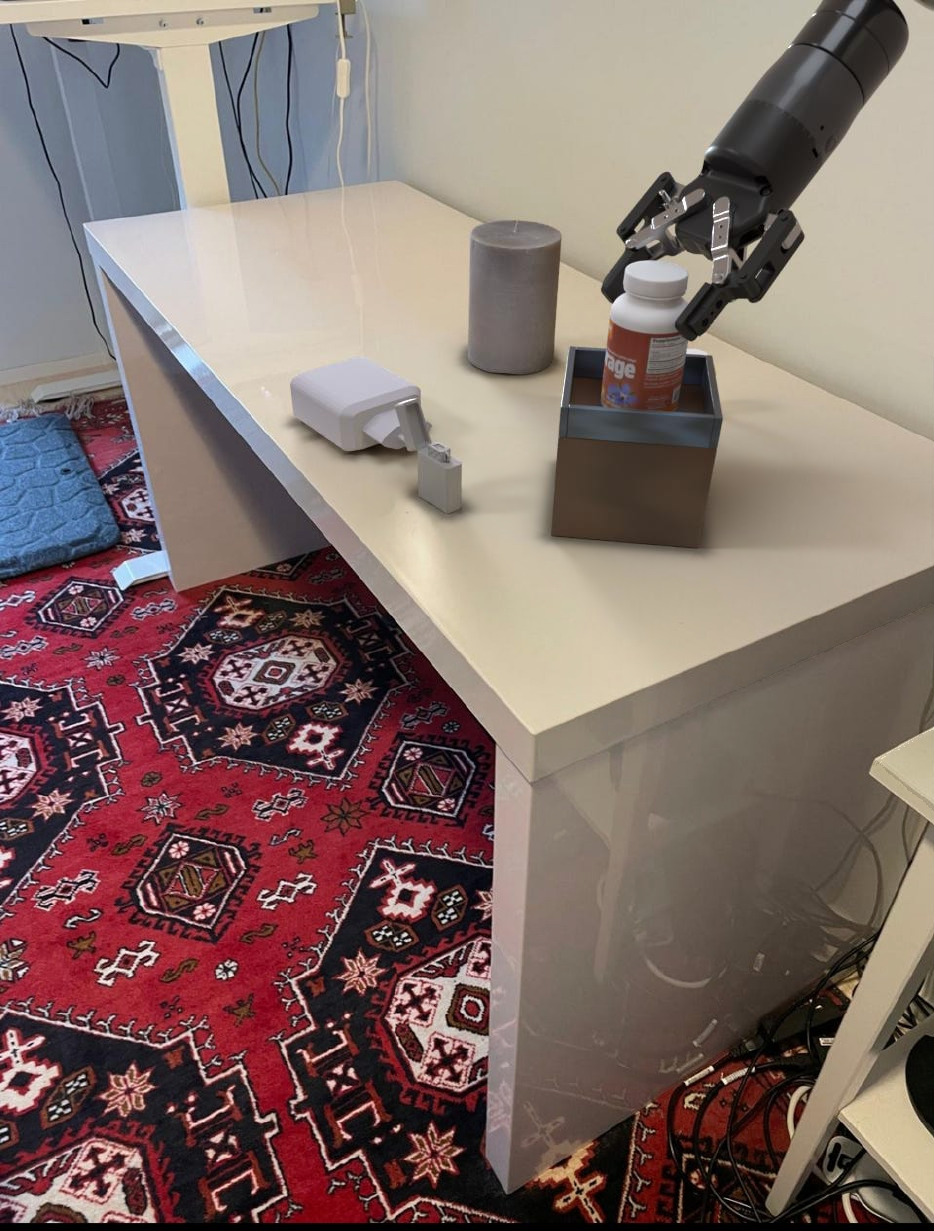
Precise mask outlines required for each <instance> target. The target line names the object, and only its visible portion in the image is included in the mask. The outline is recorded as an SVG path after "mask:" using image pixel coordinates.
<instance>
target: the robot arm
mask: <svg viewBox="0 0 934 1231" xmlns="http://www.w3.org/2000/svg"><path fill="white" fill-rule="evenodd" d="M913 2H915V3H916V4H918V5H920V6H922V7H923V8H924V9H927V10H928V11H932V12H934V0H913ZM909 38H910V28H909V25H908V22H907V19H906V16H905V15H904V13H903V12H902V10H901V8H900V7H899V5H897V3H896V2H895V0H822V1H821V2H820V3H819V5H818V7H817V8H816V9H815V11H814V12H813V14H811V16H810V17H809V19H808V20H807V21H806V23H805V24H804V26H802V28H801V29H800V31H799V32H798V34H797V35H796V36H795V37H794V39H793V40H792V41H791V43H790V44H789V45H788V47H787V48H786V50H785V51H784V52H783V53H782V54H781V56H779V57H778V58H777V60H776V61H775V62H774V63H773V64H772V65H771V66H770V67H769V68H768V69H767V70H766V71H765V72H764V73H763V74H762V76H761V77H760V79H759V80H758V81H757V82H756V84H754V86H753V88H752V89H751V90H750V91H749V93H748V94H747V96H746V97H745V98H744V99H743V101H742V102H741V103H740V105H739V106H738V108H737V109H736V110H735V112H734V113H733V114H732V115H731V117H730V118H729V119H728V120H727V122H726V123H725V125H724V127H723V128H721V130H720V131H719V133H718V134H717V135H716V137H715V138H714V139H713V141H712V142H711V144H710V145H709V146H708V147H707V149H706V150H705V153H704V155H703V163H702V168H701V170H700V172H699V174H698V176H696V177H695V178H694V179H693V180H691V181H690V182H689V183H687V184H686V185H685V184H683V183H680V182H677V181H676V180H675V178H674V177H673V175H672V173H671V172H670V171H664V172H661V174H659V176H658V177H657V178H656V179H655V180H654V182H653V183H652V184H651V185H650V186H649V188H647V190H646V191H645V193H643V195H642V196H641V198H640V199H639V200H638V201H637V202H636V203H635V205H634V206H633V207H632V209H631V210H630V211H629V212H628V214H627V215H626V216H625V218H624V219H623V220H622V221H621V222H620V224H619V225H618V226H617V228H616V235H617V236H618V237H619V239H620V241H622V243H623V244H624V246H625V248H624V251H623V253H622V254H621V255H620V257H619V258H618V260H617V261H616V262H615V264H614V265H612V267H611V269H610V270H609V272H608V273H607V274H606V275H605V277H604V279H603V280H602V283H601V287H600V292H601V294H602V295H603V296H604V298H605V299H606V300H607V301H608V302H609V303H610V304H611V305H613V303H614V301H615V300H616V299H617V298H618V297H619V296H620V295H622V294H624V293H626V291H625V290H624V285H623V281H624V274H625V269H626V267H627V266H628V265H629V264H631V263H634V262H639V261H660V260H661V259H663V258H664V257H667V256H669V257H676V256H678V255H680V254H681V253H684V252H687V253H690V254H692V255H700V256H701V255H702V256H703V257H705V258H706V259H707V260H708V261H710V262H712V268H711V282H707V281H705V282H704V283H703V284H702V286H701V287H700V288H699V289H698V291H697V292H696V293H695V294H694V296H693V297H692V298H691V300H690V301H689V302H688V305H687V306H686V308H685V309H684V310H683V312H682V313H681V314H680V316H679V317H678V318H677V320H676V322H675V328H676V329H677V331H678V332H679V333H680V335H681V336H682V337H683V338H684V339H686V340H688V342H691V343H692V342H695V340H696V339H697V338H698V337H702V336H703V335H704V334H705V333H707V331H708V330H709V329H710V327H711V325H713V324H714V323H715V320H717V319H718V317H719V316H720V314H722V312H723V311H724V309H725V308H726V307H727V306H728V304H731V303H734V302H735V301H738V300H747V301H748V302H749V303H750V304H757V303H759V302H760V301H762V299H763V298H764V297H765V295H766V294H767V292H768V291H769V290H770V288H771V287H772V286H773V284H774V283H775V281H776V280H777V278H778V277H779V275H780V274H781V273H782V272H783V270H784V268H786V266H787V264H788V263H789V261H790V260H791V258H792V257H793V256H794V254H795V253H796V252H797V250H798V249H799V248H800V246H801V245H802V243H803V242H804V240H805V238H806V236H805V235H806V234H805V233H804V231H803V229H802V227H801V224H800V222H799V221H798V219H797V217H796V216H795V213H794V211H792V210H791V209H790V208H791V207H792V206H794V204H795V203H796V201H797V200H798V199H799V197H800V195H802V193H803V192H804V191H805V189H806V188H807V187H808V186H809V184H810V183H811V181H812V180H813V179H814V177H816V175H817V174H818V173H819V171H820V170H821V168H822V167H823V166H824V165H825V163H826V162H827V161H828V159H829V158H830V157H831V156H832V154H833V153H834V151H836V149H837V148H838V147H839V145H840V144H841V143H842V141H843V139H844V138H845V136H846V135H847V133H848V132H849V130H850V129H851V127H852V125H853V123H854V122H855V120H856V118H857V117H858V115H859V114H860V112H861V111H862V110H863V108H864V107H865V105H866V104H867V103H868V102H869V100H871V98H872V96H873V95H874V94H875V93H876V91H877V90H878V89H879V88H880V86H881V85H882V84H883V82H884V81H885V79H886V78H887V77H888V76H889V75H890V74H891V72H892V71H893V69H894V68H895V66H896V65H898V62H899V61H900V60H901V58H902V56H903V55H904V54H905V51H906V49H907V47H908V44H909V41H910V40H909ZM643 221H644V222H643ZM642 222H643V225H642V226H641V227H640V229H639V230H638V231H637V232H636V229H637V227H638V226H639V225H640V224H641V223H642ZM673 225H674V234H675V235H673V234H672V232H670V229H669V228H670V227H671V226H673ZM654 241H659V242H657V243H655V244H653V245H651V246H650V247H648V246H647V245H649V244H651V243H652V242H654ZM757 241H759V242H758V243H757V244H756V245H755V247H754V248H753V250H752V252H751V253H750V254H749V255H747V254H748V247H749V246H750V245H751V244H754V243H756V242H757ZM747 256H748V257H747Z"/></svg>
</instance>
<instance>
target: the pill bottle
mask: <svg viewBox="0 0 934 1231" xmlns="http://www.w3.org/2000/svg"><path fill="white" fill-rule="evenodd" d="M688 283H689V271H688V270H687V268H685V267H684V266H682V265H680V264H676V263H673V262H669V261H663V260H657V261H639V262H634V263H631V264H629V265H628V266H627V267H626V269H625V274H624V281H623V285H624V290H625V291H626V293H624V294H622V295H620V296H619V297H618V298H617V299H616V300H615V301H614V303H613V304H611V307H610V314H609V319H608V320H609V322H608V330H607V340H606V347H605V349H606V357H605V365H604V374H603V382H602V391H601V404H602V406H603V407H612V408H626V409H640V410H654V411H668V412H675V411H676V408H677V404H678V399H679V393H680V388H681V381H682V376H683V370H684V364H685V357H686V352H687V349H688V346H689V345H688V344H689V341H688V340H686V339H684V338H683V337H682V336H681V335H680V333H679V332H678V331H677V329H676V328H675V322H676V320H677V318H678V317H679V316H680V314H681V313H682V312H683V310H684V309H685V308H686V306H687V305H688V304H689V302H688V301H687V300H686V299H685V298H684V295H685V294H686V292H687V291H688Z"/></svg>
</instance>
